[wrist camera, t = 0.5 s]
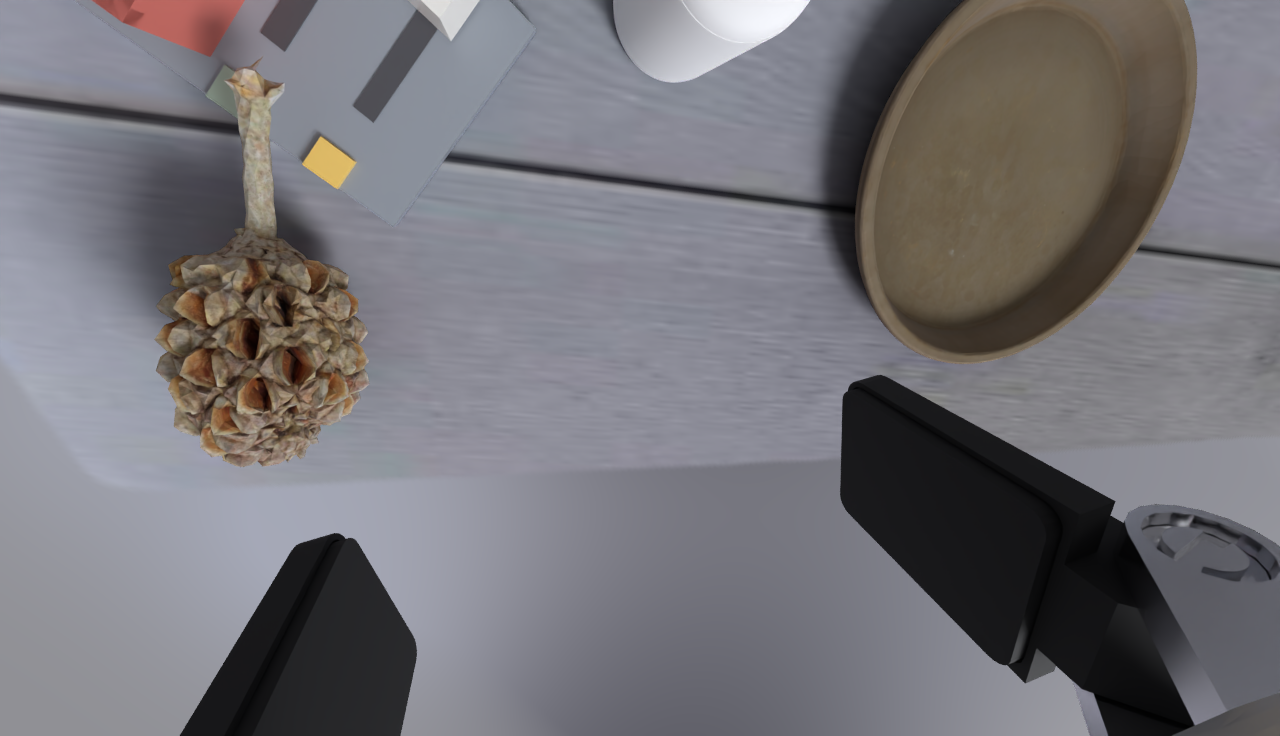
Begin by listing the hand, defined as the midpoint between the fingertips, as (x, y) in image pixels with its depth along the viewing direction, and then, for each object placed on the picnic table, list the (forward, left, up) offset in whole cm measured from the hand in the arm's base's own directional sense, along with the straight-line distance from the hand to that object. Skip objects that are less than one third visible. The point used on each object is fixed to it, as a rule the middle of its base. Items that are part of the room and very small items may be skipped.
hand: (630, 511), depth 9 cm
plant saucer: (-30, +25, -28) cm, 48 cm away
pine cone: (+10, -12, -28) cm, 32 cm away
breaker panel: (-3, -18, -28) cm, 33 cm away
